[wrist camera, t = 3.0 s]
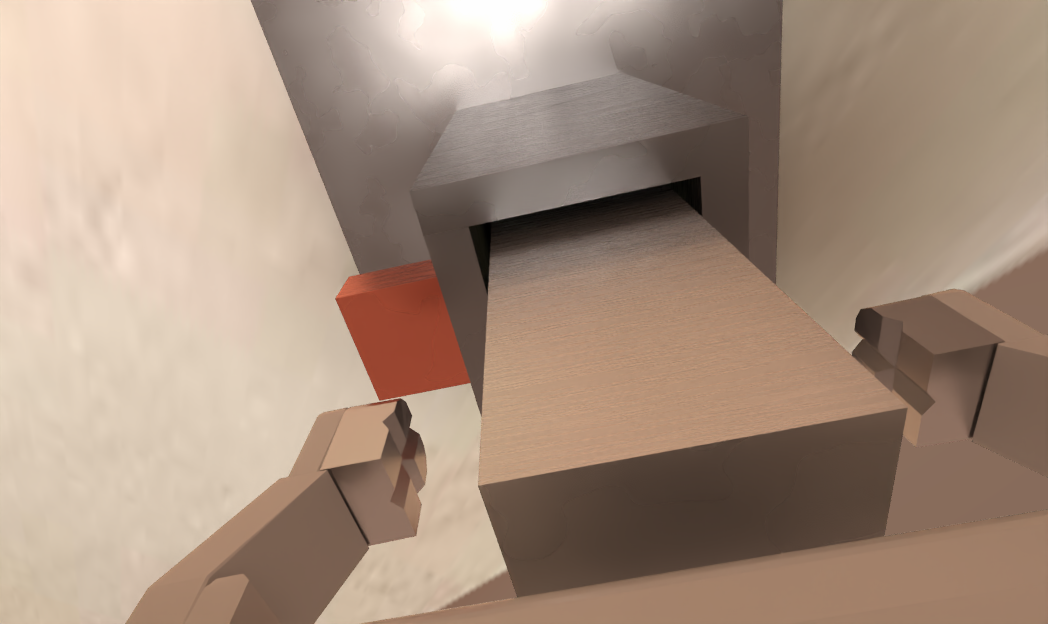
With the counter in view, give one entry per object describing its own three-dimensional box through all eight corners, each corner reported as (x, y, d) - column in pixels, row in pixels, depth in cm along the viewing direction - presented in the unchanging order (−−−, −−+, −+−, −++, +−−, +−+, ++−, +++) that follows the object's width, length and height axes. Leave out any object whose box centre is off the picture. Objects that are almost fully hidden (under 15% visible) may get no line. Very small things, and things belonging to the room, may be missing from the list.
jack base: (767, -161, 19) (1243, -505, 7) (762, 307, 29) (958, 516, 16) (254, -29, 20) (-118, -120, 8) (411, 377, 30) (347, 618, 18)
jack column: (600, 117, 21) (919, 397, 5) (614, 221, 23) (869, 653, 7) (493, 142, 21) (465, 480, 5) (516, 242, 23) (547, 703, 7)
